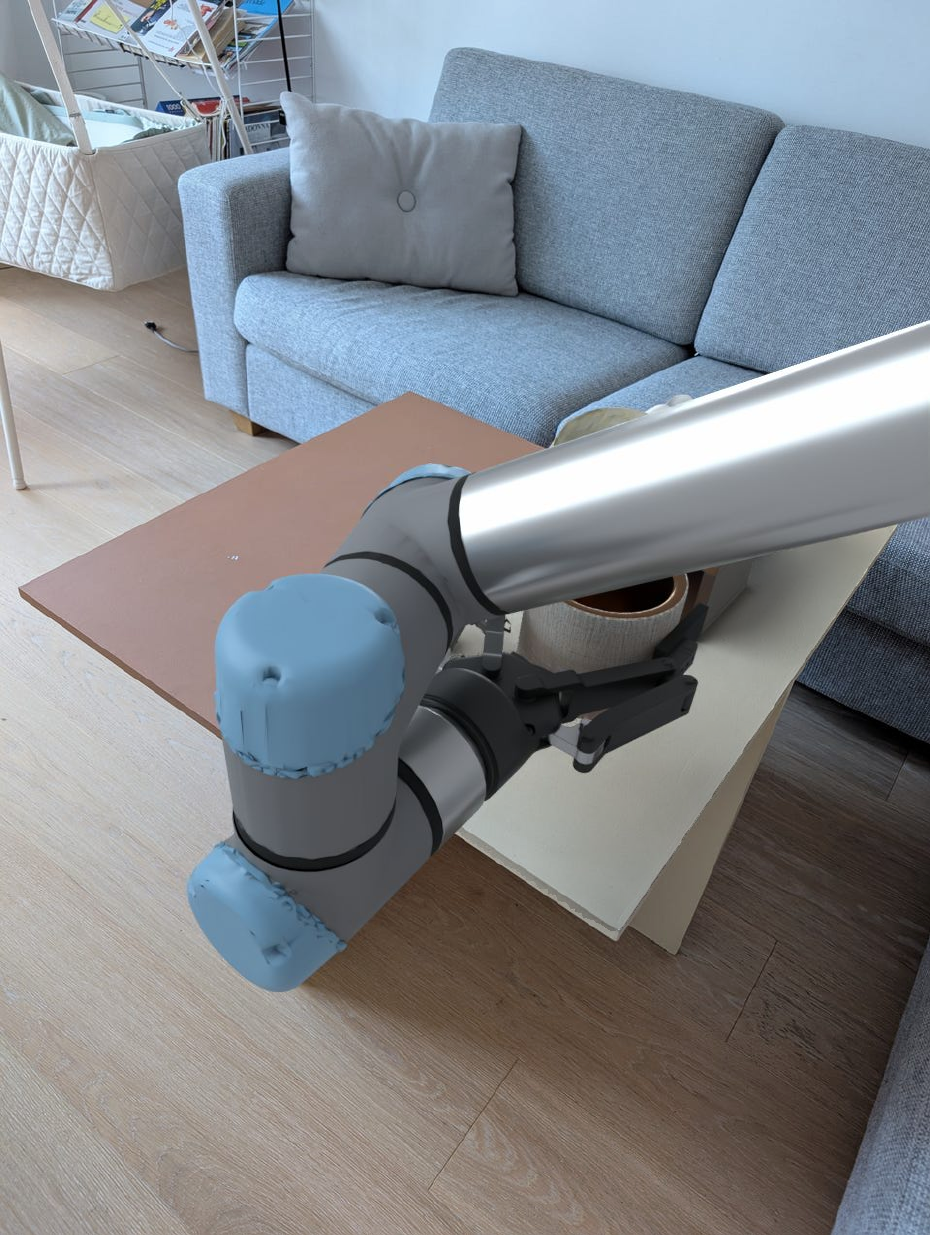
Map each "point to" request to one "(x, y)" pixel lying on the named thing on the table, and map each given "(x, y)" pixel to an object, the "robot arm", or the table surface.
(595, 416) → the bowl
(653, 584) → the planter
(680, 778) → the table surface
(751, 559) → the shelf
